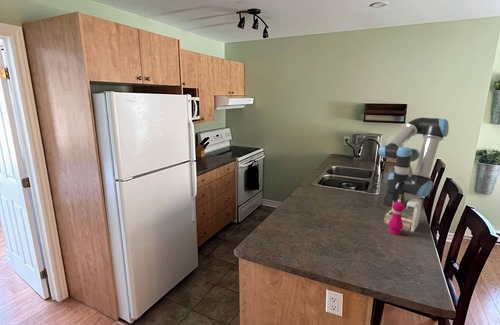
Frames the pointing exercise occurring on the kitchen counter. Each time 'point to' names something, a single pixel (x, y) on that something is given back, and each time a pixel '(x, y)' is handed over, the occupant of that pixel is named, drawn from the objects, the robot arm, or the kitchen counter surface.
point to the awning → (415, 211)
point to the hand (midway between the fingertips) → (395, 209)
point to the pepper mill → (396, 218)
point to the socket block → (404, 217)
